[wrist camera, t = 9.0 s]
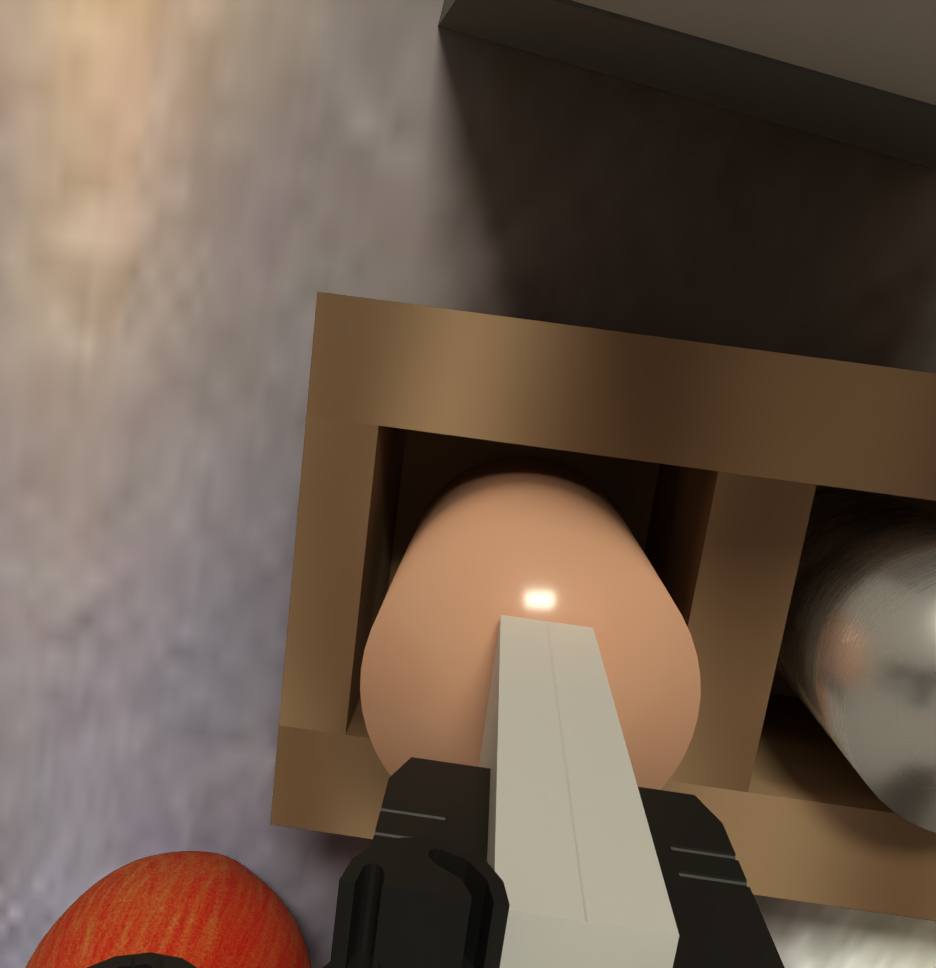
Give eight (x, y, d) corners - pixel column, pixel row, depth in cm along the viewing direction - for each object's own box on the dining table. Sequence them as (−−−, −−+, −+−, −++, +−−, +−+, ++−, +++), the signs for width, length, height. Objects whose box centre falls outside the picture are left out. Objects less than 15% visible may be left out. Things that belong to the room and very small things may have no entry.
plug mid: (722, 667, 23) (817, 817, 16) (763, 475, 21) (884, 546, 15) (920, 694, 22) (1103, 858, 16) (972, 503, 21) (1192, 588, 14)
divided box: (327, 702, 24) (270, 824, 18) (367, 300, 22) (317, 291, 16) (1259, 834, 24) (1508, 1003, 18) (1407, 437, 21) (1752, 481, 15)
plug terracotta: (397, 654, 21) (343, 819, 14) (423, 441, 19) (378, 506, 13) (613, 684, 21) (667, 866, 14) (651, 472, 19) (731, 554, 13)
